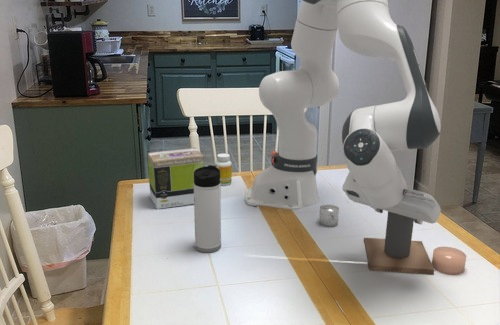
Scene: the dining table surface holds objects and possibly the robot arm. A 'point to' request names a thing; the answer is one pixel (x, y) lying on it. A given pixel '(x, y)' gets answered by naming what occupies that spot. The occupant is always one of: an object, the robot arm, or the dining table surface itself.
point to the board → (384, 262)
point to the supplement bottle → (224, 168)
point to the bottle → (398, 235)
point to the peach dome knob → (448, 260)
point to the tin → (328, 215)
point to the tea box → (173, 176)
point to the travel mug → (207, 209)
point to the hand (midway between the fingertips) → (399, 215)
